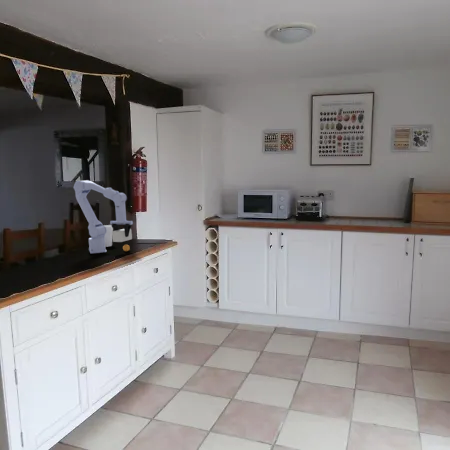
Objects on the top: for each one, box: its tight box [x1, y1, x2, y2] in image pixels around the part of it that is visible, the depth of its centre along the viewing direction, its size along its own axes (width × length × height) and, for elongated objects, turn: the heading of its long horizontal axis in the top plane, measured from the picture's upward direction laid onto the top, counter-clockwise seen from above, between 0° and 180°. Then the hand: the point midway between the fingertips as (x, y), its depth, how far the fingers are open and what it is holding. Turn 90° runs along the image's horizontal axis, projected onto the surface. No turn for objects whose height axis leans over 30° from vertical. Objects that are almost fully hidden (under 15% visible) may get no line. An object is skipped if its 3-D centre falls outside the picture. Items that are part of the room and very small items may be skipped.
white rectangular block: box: [112, 228, 133, 243], centre depth 246 cm, size 11×6×6 cm, turn 159°
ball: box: [122, 244, 131, 252], centre depth 250 cm, size 4×4×4 cm
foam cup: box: [103, 224, 114, 248], centre depth 271 cm, size 10×9×13 cm
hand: (122, 236), depth 246 cm, fingers closed on white rectangular block, 6 cm apart
